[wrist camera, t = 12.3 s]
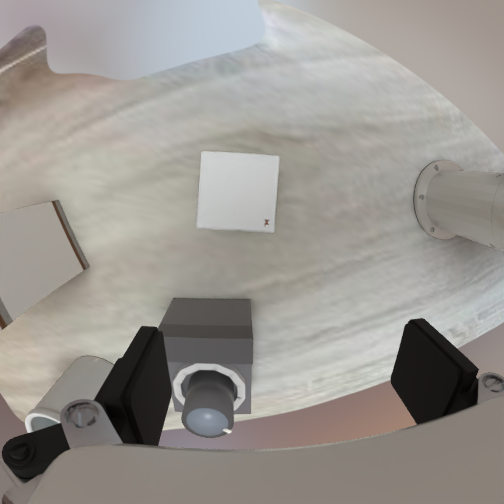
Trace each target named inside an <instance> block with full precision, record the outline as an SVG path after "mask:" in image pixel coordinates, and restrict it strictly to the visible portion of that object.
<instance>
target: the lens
mask: <svg viewBox="0 0 504 504" xmlns="http://www.w3.org/2000/svg"><path fill="white" fill-rule="evenodd" d="M181 419H182V423H183V425H184V427H185V428H186V429H187V430H188V431H190V432H191V433H193V434H195V435H198V436H201V437H206V438H215V437H220V436H223V435H225V434H227V433H231V432H232V430H231V429H232V427H233V424H234V385H233V382H232V380H231V378H230V377H229V376H227V375H225V374H222V373H220V372H218V371H216V370H199V371H197V372H195V373H194V374H193V375H192V376H191V378H190V380H189V384H188V389H187V393H186V398H185V403H184V408H183V412H182V417H181Z"/></svg>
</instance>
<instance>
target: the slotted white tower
mask: <svg viewBox="0 0 504 504" xmlns="http://www.w3.org/2000/svg"><path fill="white" fill-rule="evenodd" d="M88 267H90V266H89V264H88V262H87V260H86V258H85V256H84V254H83V252H82V250H81V248H80V246H79V244H78V242H77V240H76V238H75V236H74V234H73V232H72V229H71V227H70V225H69V223H68V221H67V218H66V216H65V214H64V212H63V209H62V207H61V204H60V202H59V200H56V201H51V202H46V203H41V204H37V205H32V206H27V207H23V208H19V209H14V210H10V211H6V212H2V213H0V331H1V330H3V329H4V328H5V327H7V326H8V325H9V324H10V323H12V322H13V321H14V320H16V319H17V318H18V317H19V316H21V315H22V314H23V313H25V312H26V311H27V310H29V309H30V308H31V307H33V306H34V305H35V304H37V303H38V302H39V301H41V300H42V299H44V298H45V297H46V296H48V295H49V294H50V293H52V292H53V291H55V290H56V289H57V288H59V287H60V286H62V285H63V284H65V283H66V282H67V281H69V280H70V279H72V278H73V277H75V276H76V275H78V274H79V273H81V272H82V271H84V270H85V269H87V268H88Z"/></svg>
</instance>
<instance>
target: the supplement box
mask: <svg viewBox="0 0 504 504" xmlns="http://www.w3.org/2000/svg"><path fill="white" fill-rule="evenodd" d="M279 159H280V157H279V156H276V155H268V154H257V153H244V152H224V151H202V152H201V163H200V175H199V186H198V199H197V213H196V228H198V229H213V230H230V231H247V232H261V233H275V223H276V209H277V194H278V176H279Z"/></svg>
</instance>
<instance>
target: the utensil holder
mask: <svg viewBox="0 0 504 504" xmlns="http://www.w3.org/2000/svg"><path fill="white" fill-rule="evenodd" d="M113 366H114V365H113V364H111V363H109V362H108V361H105V360H103V359H100V358H97V357H93V356H84V357H80V358H78V359H76V360H75V361H74V362H73V363H72V364H71V366H70V367H69V368H68V369H67V370H66V371H65V372H64V373H63V375H62V376H61V377H60V378H59V379H58V380H57V381H56V383H55V384H54V385H53V386H52V388H51V389H50V390H49V391H48V392H47V394H46V395H45V396H44V397H43V398H42V400H41V401H40V402H39V403H38V404H37V406H36V407H35V408H34V409H33V410H31V411H30V412H29V413H28V415H27V416H26V419H25V426H26V429H27V432H28V433H30V432H34V431H37V430H40V429H43V428H46V427H49V426H52V425H55V424H58V423H61V421H60V413H61V410H62V409H63V408H64V407H65V406H66V405H67V404H68V403H70V402H72V401H75V400H79V399H90V400H94V399H95V397H96V395H97V393H98V392H99V390H100V388H101V386H102V385H103V383H104V381H105V380H106V378H107V376H108V375H109V373H110V371H111V370H112V368H113Z"/></svg>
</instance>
